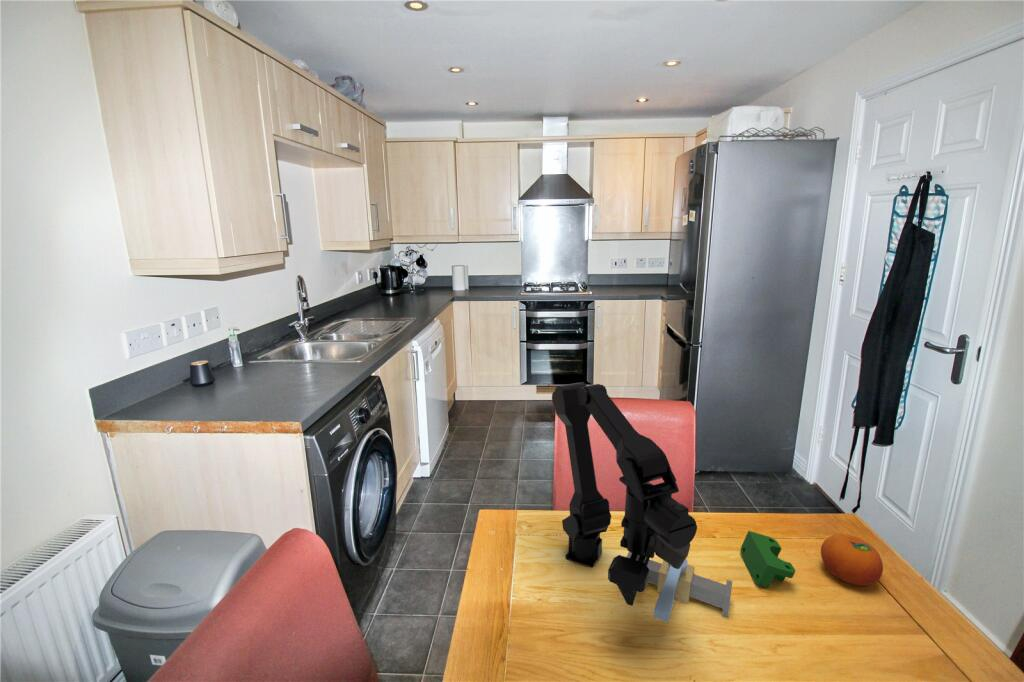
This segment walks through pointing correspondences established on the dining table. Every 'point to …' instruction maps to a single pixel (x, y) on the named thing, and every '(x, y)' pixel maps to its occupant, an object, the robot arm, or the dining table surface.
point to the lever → (668, 593)
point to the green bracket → (764, 559)
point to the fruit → (851, 559)
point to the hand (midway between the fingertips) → (636, 587)
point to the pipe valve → (692, 586)
